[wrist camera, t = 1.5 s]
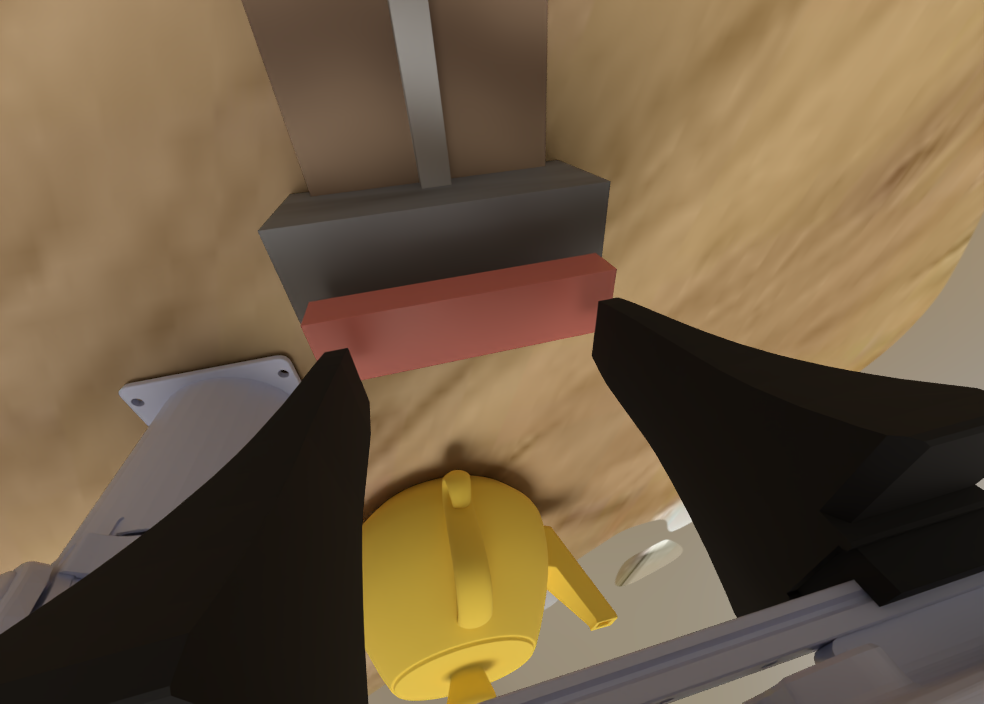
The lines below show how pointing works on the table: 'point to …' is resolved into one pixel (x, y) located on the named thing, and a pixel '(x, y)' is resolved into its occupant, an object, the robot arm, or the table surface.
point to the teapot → (463, 587)
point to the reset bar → (461, 315)
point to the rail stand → (417, 144)
